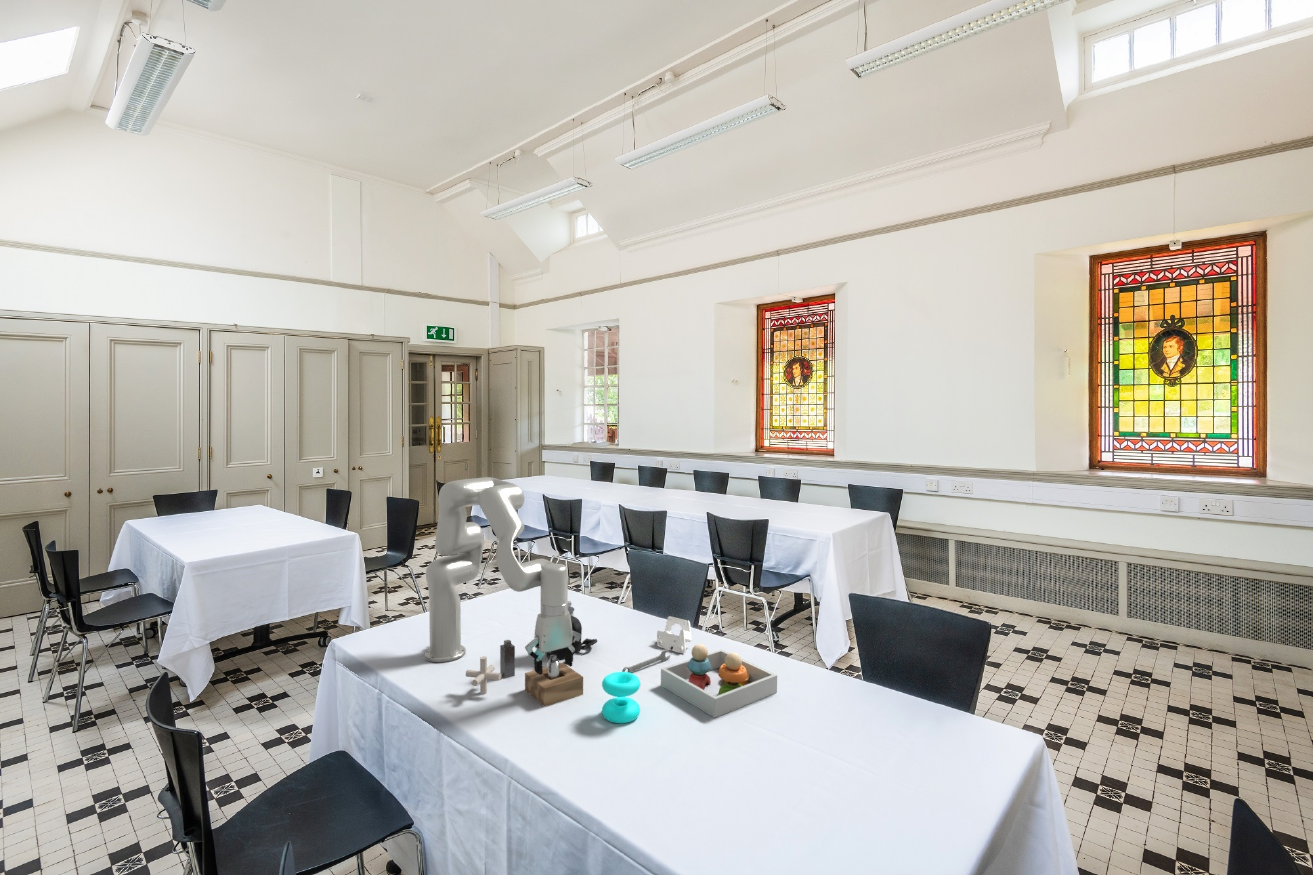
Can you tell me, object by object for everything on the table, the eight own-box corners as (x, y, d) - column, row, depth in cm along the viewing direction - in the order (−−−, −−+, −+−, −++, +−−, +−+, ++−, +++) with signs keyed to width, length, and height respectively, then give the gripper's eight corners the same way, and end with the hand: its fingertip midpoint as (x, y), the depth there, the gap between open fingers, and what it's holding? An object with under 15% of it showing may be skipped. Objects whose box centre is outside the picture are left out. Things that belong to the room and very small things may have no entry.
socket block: (524, 690, 172) (524, 672, 171) (562, 679, 179) (562, 662, 179) (544, 706, 162) (544, 688, 162) (583, 694, 169) (583, 676, 169)
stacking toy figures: (755, 679, 180) (756, 638, 180) (743, 706, 164) (744, 660, 164) (697, 670, 186) (698, 630, 186) (680, 694, 170) (680, 651, 170)
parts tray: (660, 685, 176) (661, 668, 175) (720, 665, 190) (721, 649, 190) (715, 717, 157) (715, 698, 157) (776, 692, 172) (777, 675, 172)
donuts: (646, 682, 155) (609, 689, 151) (646, 720, 155) (609, 728, 151) (632, 667, 164) (597, 673, 160) (631, 703, 165) (596, 710, 161)
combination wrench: (623, 667, 180) (672, 648, 194) (620, 666, 181) (669, 647, 195) (623, 680, 181) (672, 660, 194) (621, 678, 181) (669, 658, 195)
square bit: (500, 674, 182) (500, 640, 181) (510, 672, 183) (510, 638, 183) (504, 678, 179) (504, 643, 178) (514, 675, 181) (514, 641, 180)
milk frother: (540, 656, 195) (540, 611, 194) (566, 640, 210) (566, 597, 209) (578, 664, 189) (578, 618, 189) (602, 646, 204) (602, 603, 203)
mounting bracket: (691, 655, 202) (698, 623, 205) (682, 653, 197) (689, 620, 201) (662, 647, 209) (669, 616, 212) (652, 645, 204) (660, 613, 207)
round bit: (545, 691, 171) (545, 655, 170) (555, 688, 173) (555, 652, 172) (551, 696, 168) (550, 659, 168) (561, 692, 170) (561, 656, 170)
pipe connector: (491, 702, 164) (491, 666, 164) (458, 698, 166) (458, 663, 166) (507, 686, 174) (507, 652, 173) (476, 683, 176) (475, 649, 175)
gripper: (574, 599, 178) (574, 657, 179) (519, 611, 167) (519, 672, 168) (587, 606, 172) (587, 665, 173) (531, 618, 161) (531, 681, 162)
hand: (553, 668), depth 170 cm, fingers open, 9 cm apart
